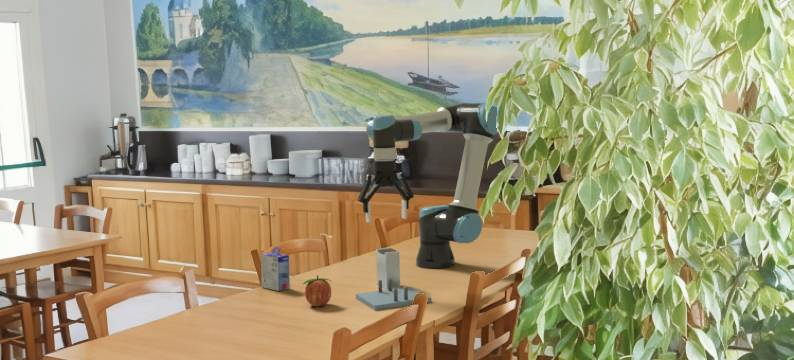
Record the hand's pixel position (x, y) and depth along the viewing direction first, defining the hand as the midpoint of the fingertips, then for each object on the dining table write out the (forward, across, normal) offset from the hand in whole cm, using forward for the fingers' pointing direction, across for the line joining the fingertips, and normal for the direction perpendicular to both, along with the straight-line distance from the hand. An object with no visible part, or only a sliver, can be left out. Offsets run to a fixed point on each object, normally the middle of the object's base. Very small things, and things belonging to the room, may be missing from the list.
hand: (386, 220), depth 294 cm
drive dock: (+24, +6, +18) cm, 30 cm away
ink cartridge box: (+24, +36, -18) cm, 47 cm away
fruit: (+24, +30, +12) cm, 40 cm away
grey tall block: (+24, 0, 0) cm, 24 cm away
